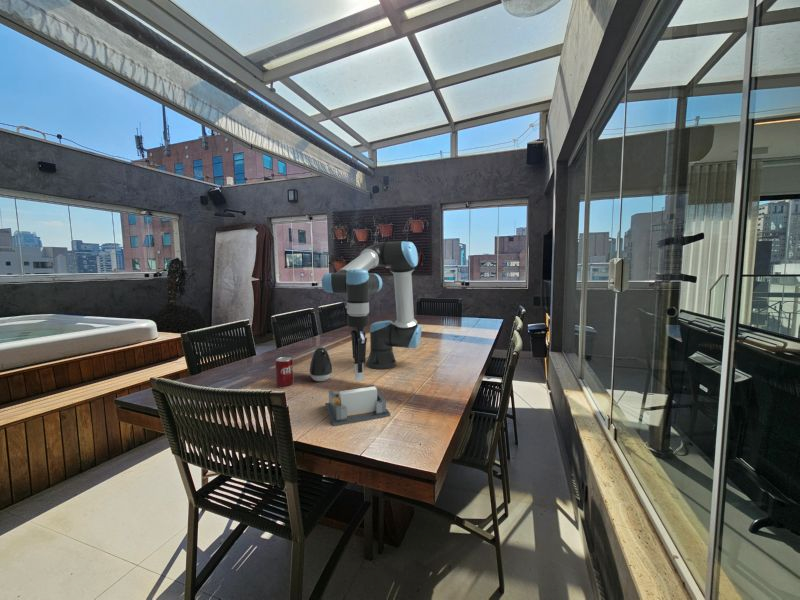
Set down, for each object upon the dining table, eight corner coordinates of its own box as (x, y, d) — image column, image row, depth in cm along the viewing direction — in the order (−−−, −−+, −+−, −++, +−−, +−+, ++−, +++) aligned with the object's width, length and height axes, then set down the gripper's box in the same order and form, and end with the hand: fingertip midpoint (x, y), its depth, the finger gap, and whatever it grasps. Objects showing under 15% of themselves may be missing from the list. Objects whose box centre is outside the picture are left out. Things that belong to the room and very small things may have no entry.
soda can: (272, 386, 146) (271, 359, 145) (285, 381, 152) (284, 355, 151) (284, 389, 142) (283, 362, 141) (297, 384, 149) (296, 358, 148)
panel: (374, 407, 123) (374, 386, 122) (377, 410, 120) (377, 389, 119) (339, 413, 118) (339, 391, 117) (341, 416, 115) (340, 394, 114)
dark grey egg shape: (316, 385, 148) (315, 351, 146) (305, 379, 156) (305, 347, 154) (336, 380, 155) (336, 347, 153) (325, 374, 162) (325, 343, 161)
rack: (375, 398, 134) (375, 381, 133) (390, 416, 118) (390, 397, 118) (325, 405, 127) (324, 387, 126) (333, 426, 111) (333, 405, 110)
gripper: (343, 312, 120) (344, 375, 123) (351, 318, 108) (353, 388, 111) (363, 310, 123) (364, 373, 126) (374, 316, 111) (375, 385, 114)
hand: (359, 380), depth 118 cm, fingers closed
